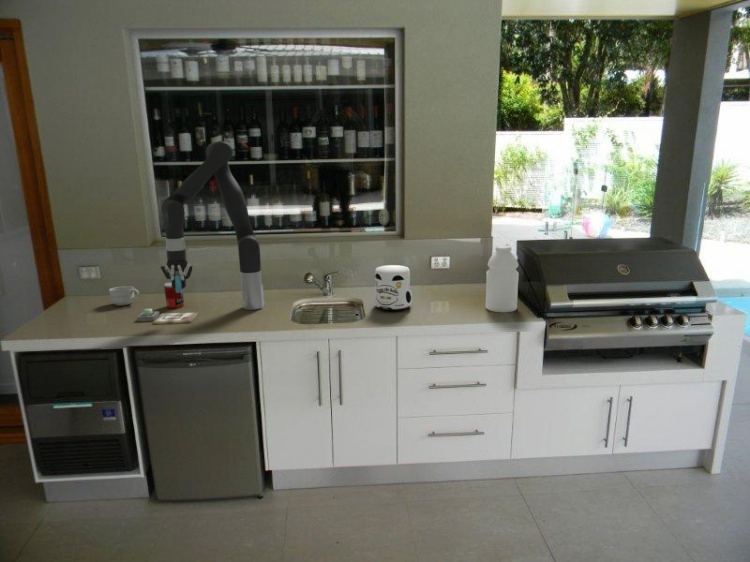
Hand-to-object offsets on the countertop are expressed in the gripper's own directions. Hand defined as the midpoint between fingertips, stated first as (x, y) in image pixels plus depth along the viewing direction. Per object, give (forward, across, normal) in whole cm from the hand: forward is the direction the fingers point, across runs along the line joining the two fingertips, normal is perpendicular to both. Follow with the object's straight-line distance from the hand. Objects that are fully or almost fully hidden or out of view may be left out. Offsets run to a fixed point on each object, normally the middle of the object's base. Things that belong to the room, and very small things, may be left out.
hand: (179, 288), depth 237 cm
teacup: (+16, +34, -28) cm, 46 cm away
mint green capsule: (+15, +16, -5) cm, 22 cm away
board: (+15, +3, -2) cm, 15 cm away
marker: (+2, 0, 0) cm, 2 cm away
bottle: (+11, -140, -2) cm, 140 cm away
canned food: (+15, +9, -22) cm, 28 cm away
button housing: (+15, +16, -5) cm, 22 cm away
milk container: (+12, -92, -9) cm, 93 cm away
